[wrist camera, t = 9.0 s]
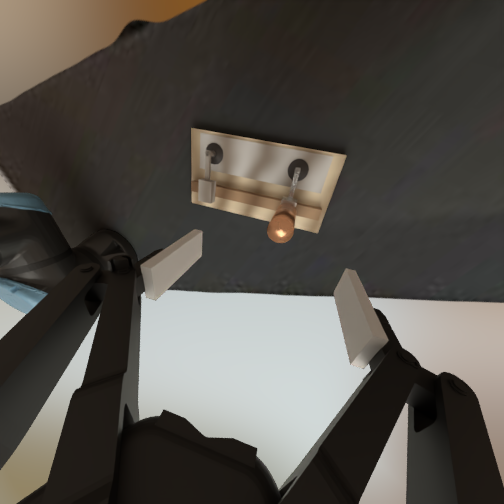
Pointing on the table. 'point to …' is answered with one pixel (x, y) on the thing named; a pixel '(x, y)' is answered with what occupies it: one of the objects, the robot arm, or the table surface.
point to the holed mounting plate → (261, 176)
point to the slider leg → (284, 216)
